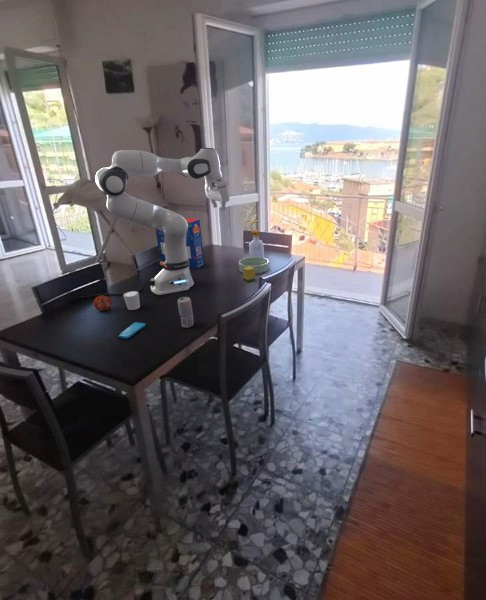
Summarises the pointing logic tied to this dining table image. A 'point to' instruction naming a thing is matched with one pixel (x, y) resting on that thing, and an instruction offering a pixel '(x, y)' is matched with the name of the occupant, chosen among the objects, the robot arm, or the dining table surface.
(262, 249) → the soap bottle
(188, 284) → the robot arm
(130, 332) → the sponge
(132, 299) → the white cylinder
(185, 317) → the energy drink
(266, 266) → the basin
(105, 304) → the pomegranate
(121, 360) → the dining table surface
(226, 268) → the dining table surface
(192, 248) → the pasta box
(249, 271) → the scrub block
